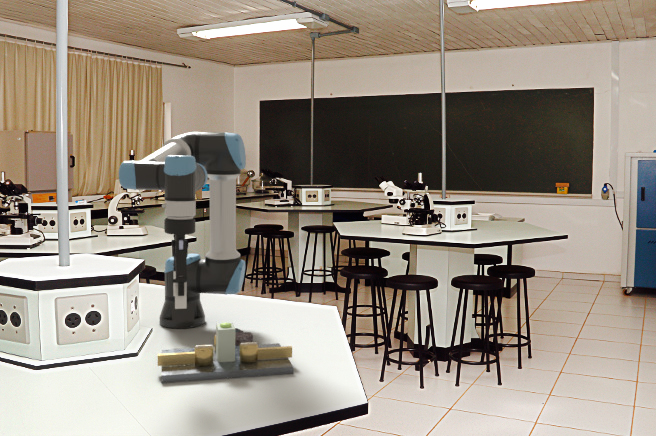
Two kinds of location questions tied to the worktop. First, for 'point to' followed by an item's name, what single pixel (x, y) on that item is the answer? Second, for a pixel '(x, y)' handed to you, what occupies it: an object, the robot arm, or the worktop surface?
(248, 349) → the knob
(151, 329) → the worktop surface
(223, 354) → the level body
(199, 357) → the knob
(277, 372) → the grey knob board
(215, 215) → the robot arm
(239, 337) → the rock
